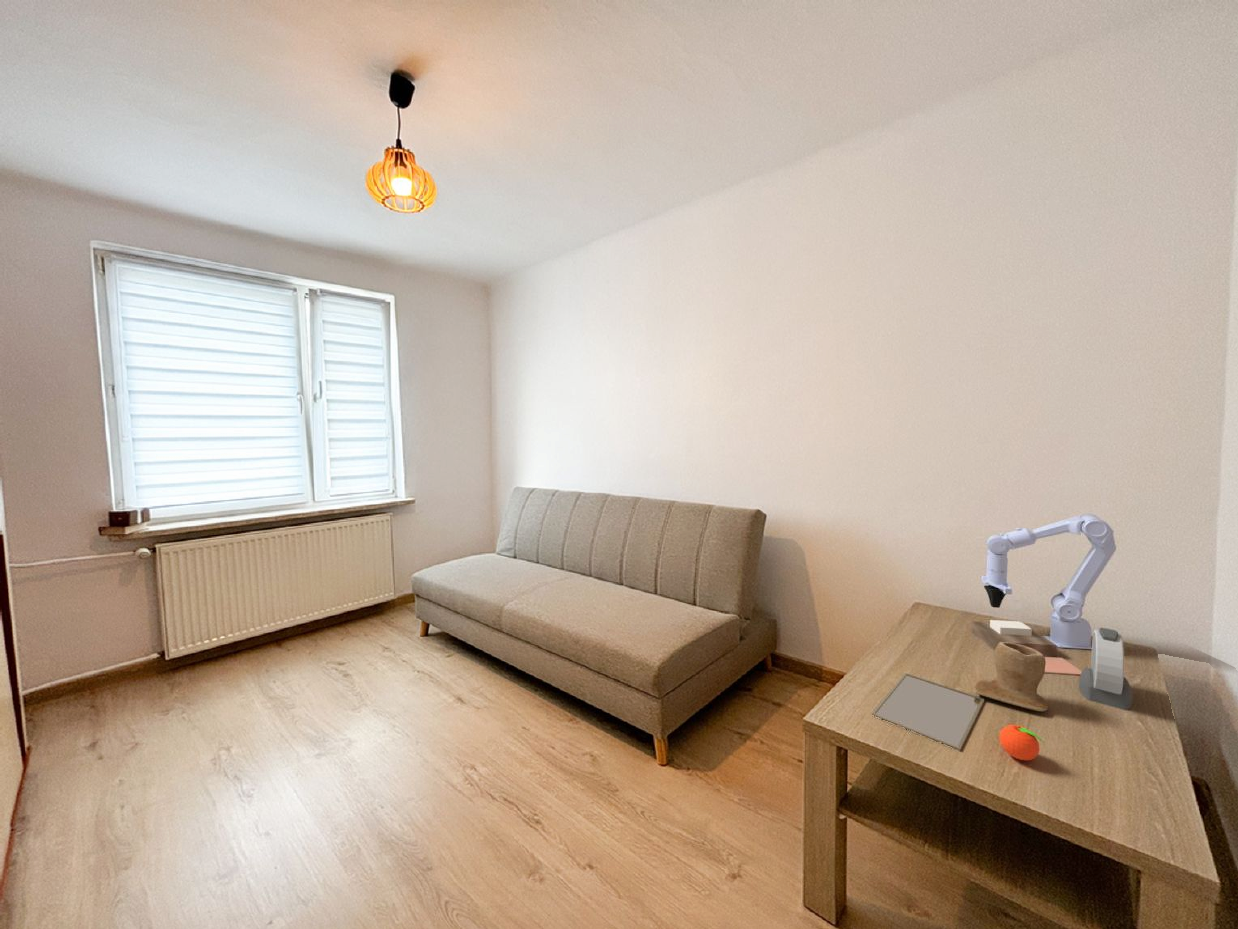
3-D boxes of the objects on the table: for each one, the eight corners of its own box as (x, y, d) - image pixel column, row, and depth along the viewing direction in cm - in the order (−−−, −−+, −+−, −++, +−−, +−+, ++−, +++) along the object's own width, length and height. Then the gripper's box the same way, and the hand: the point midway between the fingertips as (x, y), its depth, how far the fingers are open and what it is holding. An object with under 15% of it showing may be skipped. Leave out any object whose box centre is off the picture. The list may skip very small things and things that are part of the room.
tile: (1019, 628, 161) (1020, 621, 161) (1031, 636, 155) (1031, 629, 155) (990, 626, 163) (990, 620, 162) (1000, 634, 157) (1000, 627, 157)
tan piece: (1046, 698, 127) (1049, 645, 126) (1048, 720, 118) (1050, 663, 117) (976, 680, 137) (978, 630, 136) (973, 698, 128) (975, 646, 127)
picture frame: (960, 753, 108) (984, 702, 127) (960, 749, 108) (984, 698, 127) (871, 717, 122) (905, 676, 141) (871, 713, 122) (905, 672, 141)
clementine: (1046, 758, 105) (1047, 728, 105) (1044, 775, 101) (1045, 743, 100) (1000, 742, 111) (1001, 713, 110) (996, 757, 106) (998, 727, 106)
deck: (1023, 635, 164) (1024, 624, 164) (1055, 657, 149) (1056, 645, 148) (972, 632, 168) (972, 621, 167) (998, 653, 152) (998, 641, 152)
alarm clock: (1136, 716, 119) (1140, 647, 118) (1080, 701, 126) (1083, 635, 124) (1128, 688, 131) (1132, 625, 129) (1077, 676, 138) (1080, 616, 136)
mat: (1061, 659, 147) (1062, 657, 147) (1086, 675, 138) (1086, 674, 138) (996, 655, 151) (996, 653, 151) (1015, 671, 141) (1015, 669, 141)
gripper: (973, 563, 174) (971, 598, 175) (995, 575, 160) (994, 614, 161) (994, 563, 172) (993, 599, 174) (1019, 576, 158) (1017, 615, 159)
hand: (995, 606), depth 167 cm, fingers closed
